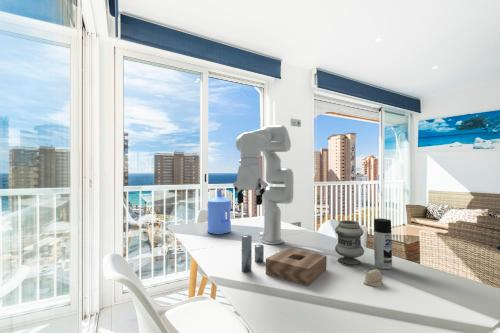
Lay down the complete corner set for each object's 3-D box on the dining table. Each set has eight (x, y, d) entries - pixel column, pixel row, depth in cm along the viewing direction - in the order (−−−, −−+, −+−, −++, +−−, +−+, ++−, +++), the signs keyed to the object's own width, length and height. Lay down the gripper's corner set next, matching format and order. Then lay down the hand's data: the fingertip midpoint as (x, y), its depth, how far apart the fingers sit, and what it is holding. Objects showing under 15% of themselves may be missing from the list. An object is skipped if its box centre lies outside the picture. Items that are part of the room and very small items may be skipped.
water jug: (204, 234, 164) (204, 190, 165) (211, 228, 180) (211, 188, 180) (227, 235, 162) (227, 191, 162) (233, 229, 177) (233, 189, 178)
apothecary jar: (330, 262, 114) (330, 221, 114) (341, 256, 123) (341, 218, 123) (358, 269, 106) (357, 225, 106) (368, 262, 114) (367, 221, 115)
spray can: (385, 271, 104) (385, 221, 105) (370, 265, 110) (370, 219, 111) (395, 268, 107) (395, 220, 108) (380, 262, 113) (380, 217, 114)
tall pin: (239, 271, 104) (239, 236, 104) (245, 268, 107) (245, 234, 107) (247, 273, 102) (247, 238, 102) (253, 270, 105) (253, 236, 105)
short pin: (253, 261, 115) (253, 246, 115) (258, 259, 118) (258, 243, 118) (260, 263, 112) (260, 247, 113) (265, 261, 116) (265, 245, 116)
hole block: (265, 273, 101) (265, 258, 101) (287, 260, 116) (287, 247, 116) (308, 286, 90) (308, 268, 91) (326, 270, 105) (326, 255, 105)
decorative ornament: (386, 285, 91) (386, 270, 91) (367, 288, 89) (367, 273, 89) (377, 280, 95) (377, 266, 95) (359, 283, 93) (359, 268, 93)
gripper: (228, 162, 108) (227, 203, 108) (261, 161, 98) (261, 206, 97) (239, 163, 114) (239, 201, 114) (272, 162, 104) (272, 204, 103)
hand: (249, 203), depth 106 cm, fingers open, 9 cm apart
